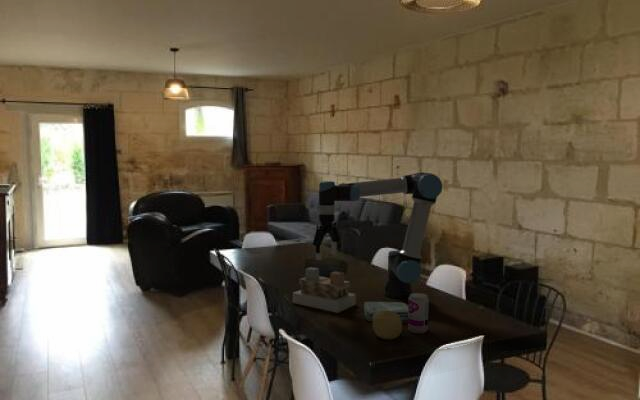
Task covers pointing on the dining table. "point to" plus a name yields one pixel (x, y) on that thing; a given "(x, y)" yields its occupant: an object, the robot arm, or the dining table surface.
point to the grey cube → (312, 273)
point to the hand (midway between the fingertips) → (326, 257)
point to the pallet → (324, 288)
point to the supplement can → (418, 313)
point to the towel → (395, 307)
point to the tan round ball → (387, 324)
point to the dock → (325, 301)
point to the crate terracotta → (337, 277)
